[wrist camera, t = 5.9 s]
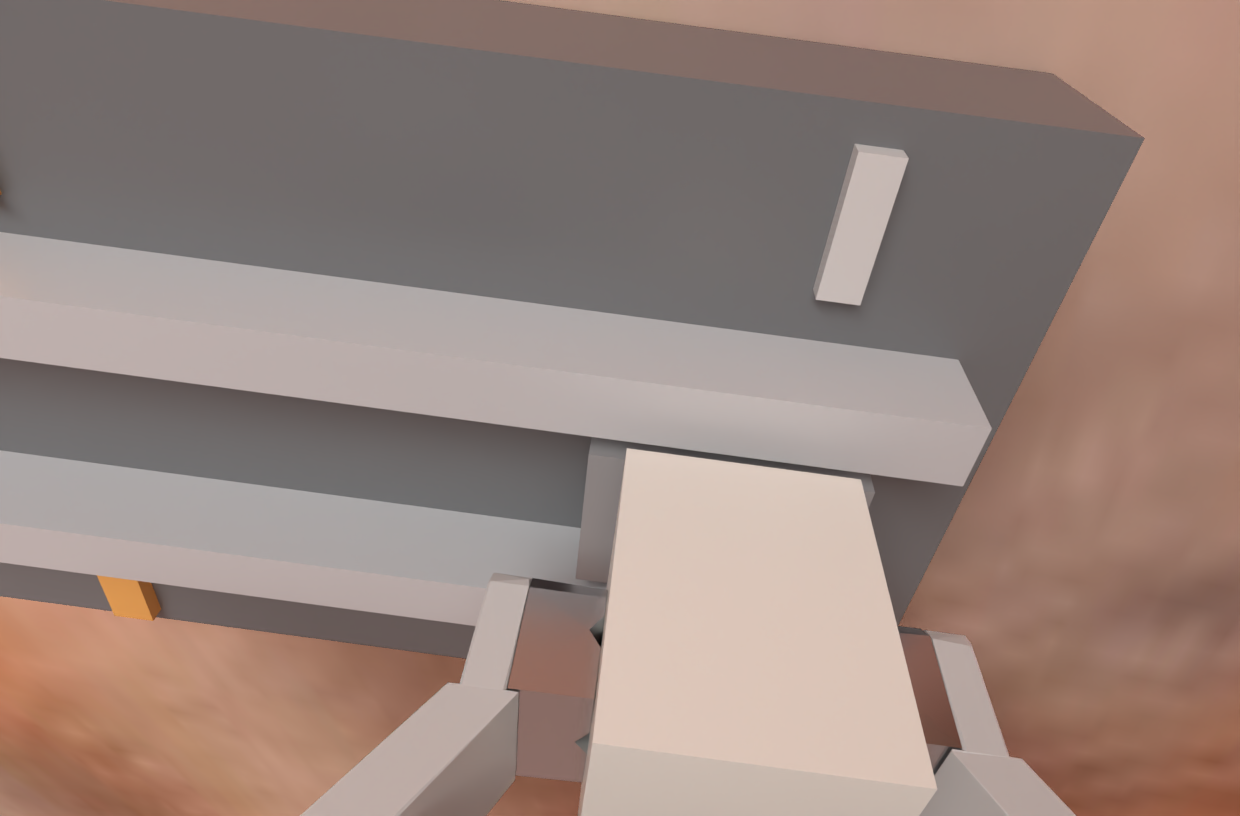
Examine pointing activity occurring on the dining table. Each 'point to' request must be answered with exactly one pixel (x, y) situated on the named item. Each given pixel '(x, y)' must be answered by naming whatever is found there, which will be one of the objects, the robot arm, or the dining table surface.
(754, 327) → the fader console
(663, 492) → the fader knob
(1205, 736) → the dining table surface
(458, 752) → the robot arm
